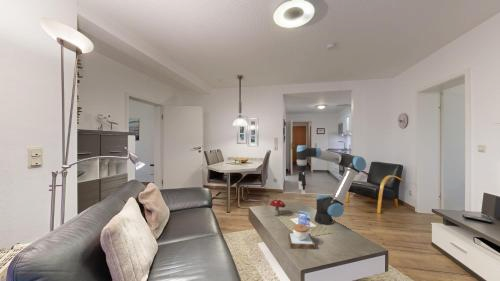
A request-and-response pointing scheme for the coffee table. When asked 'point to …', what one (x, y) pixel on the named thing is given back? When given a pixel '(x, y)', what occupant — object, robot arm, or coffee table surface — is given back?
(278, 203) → the decorative mushroom
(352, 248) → the coffee table surface
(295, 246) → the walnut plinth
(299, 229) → the lidded jar
